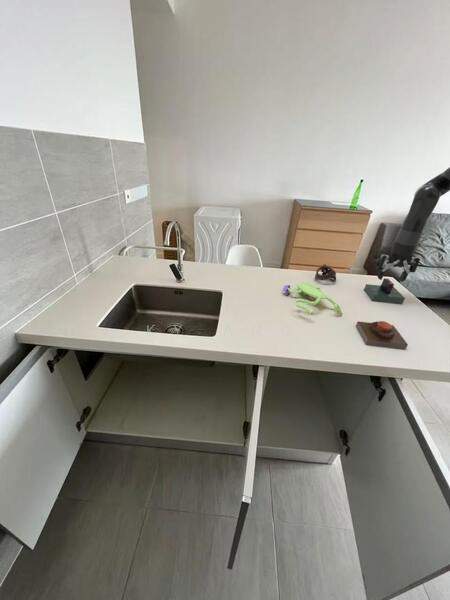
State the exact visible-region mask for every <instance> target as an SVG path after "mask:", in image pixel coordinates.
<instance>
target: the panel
mask: <svg viewBox="0 0 450 600" xmlns="http://www.w3.org/2000/svg"><path fill="white" fill-rule="evenodd" d="M380 286H381V284H380V285H377V284H369V283H365V286H364V288H363V291H364V292H365V294H366V295H367V296H368V298H369V299H370V301H371V302H375V303H386V304H395V305H403V303H404V301H405V299H406V298H405V296H404V295H402V293H401V292H399V290H398V289H397V288H396V287H395V286H393V288H392V290H391V292H390V294H385V293H384V291H383V290H382V289H381V288H380Z"/></svg>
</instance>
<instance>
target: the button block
mask: <svg viewBox="0 0 450 600" xmlns="http://www.w3.org/2000/svg"><path fill="white" fill-rule="evenodd" d="M378 322H379V321H372V322H366V321H358V320H357V322H356V324H355V328H356V330H357V332H358V334H359V336H360V337H361V339H362V341H363V343H364V345H365V346H369V347H370V346H371V347H378V348H379V347H380V348H388V349H394V350H395V349H396V350H403V351H405V350H407V347H408V343H407V341H406V339H404V337H403V336H402V334H401V333H400V331H398V329H397V328H396V327H395V326H394V325H393V324H390V325H391V326H392V328H391V330H390V332H383V331H380V330H379V329H377V328H376V326H377V324H378Z"/></svg>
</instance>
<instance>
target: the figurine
mask: <svg viewBox="0 0 450 600" xmlns="http://www.w3.org/2000/svg"><path fill="white" fill-rule="evenodd" d="M296 287H297V288H298V290H297V289H296V290H295V289H291V285H289V284H286V285H283V287H282V293H283V294H284V295H285V296H289V295H290V293H292V294H301V293H303V296H306V295H308V296H309V299H310V300H311V301H310V300H308V299H305V298H297V299H295V305H296V308H299V309H303V310H305V311H306V312H307V313H309V314H310V315H311V316H312V315H314V312H313V310H312V309H311V308H310V307H308V306H306V305H304V304H307V305H312V306H313V305H314V306H315V305H317V304H319V302H320V301H321V300H326V301H329V302H330V304H332V305H333V308H334V310H335V311H336V312H337V313H338V315H339V316H343V312H342V310H341V307H340V305H339V304H338V303H337V302H336V301H335V300H334V299H333V298H331V297H329V296H328V295H326V294H325V293H324V292H323V291H321V290H320V289H321V286H316V285H314V284H311V283H310V282H309V283H308V282H307V281H303V282H298V283H296ZM313 298H315V299H316V300H315V301H313V300H314V299H313ZM299 303H304V304H303V305H302V304H299Z"/></svg>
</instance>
